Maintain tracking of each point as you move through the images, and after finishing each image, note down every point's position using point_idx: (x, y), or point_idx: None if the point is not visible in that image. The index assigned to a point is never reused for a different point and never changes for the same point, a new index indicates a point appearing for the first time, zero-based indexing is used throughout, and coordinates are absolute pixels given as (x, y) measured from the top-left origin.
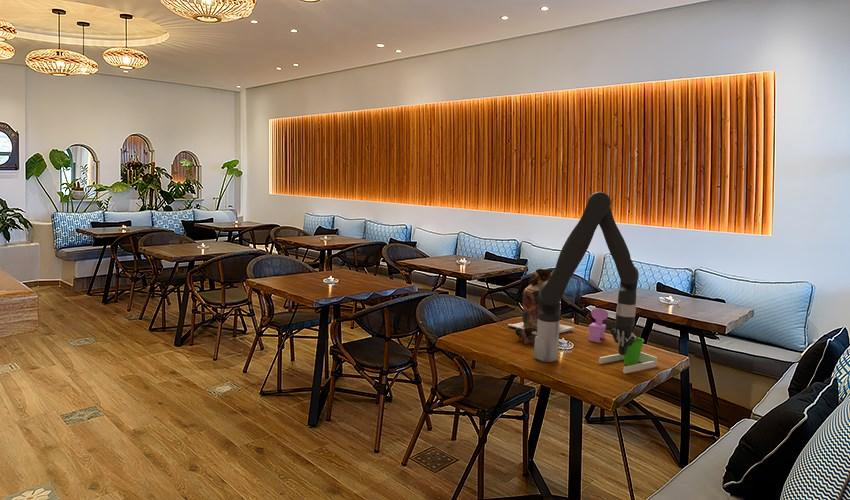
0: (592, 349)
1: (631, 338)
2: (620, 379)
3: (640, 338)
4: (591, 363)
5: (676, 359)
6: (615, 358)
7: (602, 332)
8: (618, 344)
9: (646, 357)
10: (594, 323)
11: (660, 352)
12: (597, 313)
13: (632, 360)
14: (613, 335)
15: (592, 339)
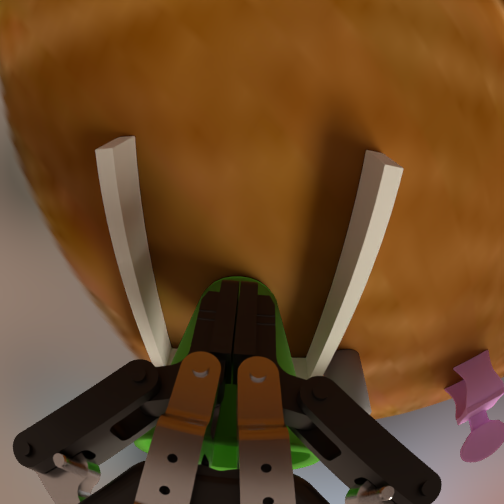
0: (472, 308)
1: (39, 447)
2: (61, 37)
3: (220, 468)
4: (408, 102)
5: None
6: (336, 291)
7: (458, 399)
8: (271, 365)
9: None
10: (488, 407)
11: None
12: (490, 438)
13: (198, 309)
14: (382, 451)
15: (478, 360)
